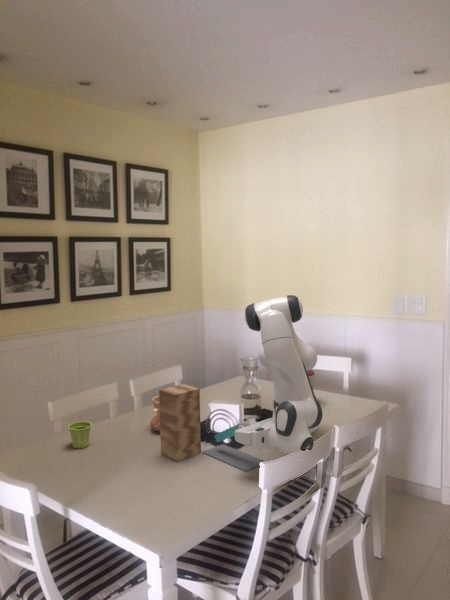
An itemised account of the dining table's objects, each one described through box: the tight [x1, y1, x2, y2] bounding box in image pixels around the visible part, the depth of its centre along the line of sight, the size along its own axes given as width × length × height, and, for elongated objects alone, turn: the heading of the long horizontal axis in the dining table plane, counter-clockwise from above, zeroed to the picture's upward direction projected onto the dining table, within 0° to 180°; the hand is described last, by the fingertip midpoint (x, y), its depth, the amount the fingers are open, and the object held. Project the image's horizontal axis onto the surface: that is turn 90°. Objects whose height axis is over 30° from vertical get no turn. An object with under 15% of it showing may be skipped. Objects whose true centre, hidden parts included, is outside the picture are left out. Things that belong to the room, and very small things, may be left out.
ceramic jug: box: [149, 395, 160, 433], centre depth 223 cm, size 18×14×14 cm
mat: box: [202, 443, 265, 473], centre depth 192 cm, size 11×24×1 cm, turn 43°
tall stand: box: [158, 383, 202, 463], centre depth 195 cm, size 12×10×26 cm
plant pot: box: [67, 421, 93, 449], centre depth 206 cm, size 9×9×9 cm
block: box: [214, 417, 257, 443], centre depth 190 cm, size 3×22×3 cm, turn 43°
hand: (243, 425), depth 186 cm, fingers closed on block, 3 cm apart
